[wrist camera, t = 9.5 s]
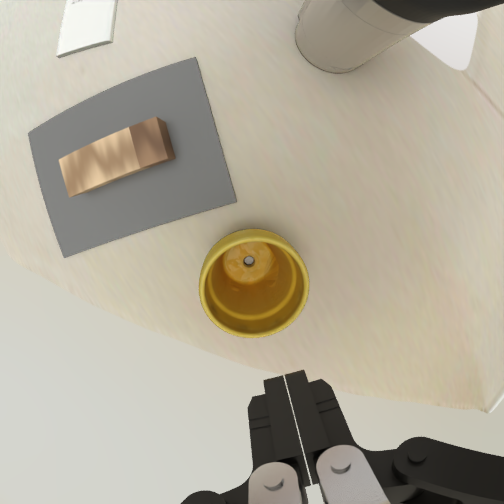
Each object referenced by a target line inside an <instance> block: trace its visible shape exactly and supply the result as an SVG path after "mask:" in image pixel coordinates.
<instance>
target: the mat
mask: <svg viewBox="0 0 504 504" xmlns="http://www.w3.org/2000/svg"><path fill="white" fill-rule="evenodd" d="M154 117H158V118H160V119H161V120H163V121H165V122H166V125H167V129H168V133H169V136H170V140H171V143H172V147H173V150H174V154H175V157H176V159H173V160H170V161H167V162H164V163H161V164H158V165H156V166H153V167H150V168H147V169H144V170H142V171H139V172H136V173H134V174H131V175H128V176H126V177H123V178H121V179H118V180H116V181H113V182H111V183H108V184H106V185H103V186H101V187H99V188H96V189H94V190H91V191H89V192H87V193H83V194H80V195H76V196H73V197H70V198H69V195H68V192H67V189H66V185H65V182H64V178H63V174H62V171H61V167H60V163H59V159H61V158H63V157H65V156H66V155H68V154H70V153H72V152H74V151H76V150H78V149H80V148H83V147H85V146H87V145H89V144H91V143H93V142H95V141H97V140H100V139H102V138H104V137H106V136H109V135H111V134H113V133H116V132H118V131H120V130H123V129H125V128H128V127H130V126H133V125H135V124H138V123H140V122H143V121H145V120H148V119H151V118H154ZM28 136H29V141H30V146H31V151H32V155H33V160H34V164H35V168H36V172H37V176H38V180H39V184H40V187H41V191H42V195H43V198H44V201H45V205H46V208H47V211H48V214H49V217H50V220H51V223H52V226H53V229H54V232H55V235H56V238H57V241H58V243H59V246H60V249H61V251H62V254H63V257H64V258H66V257H69V256H71V255H74V254H77V253H79V252H82V251H85V250H88V249H91V248H93V247H96V246H99V245H102V244H105V243H108V242H110V241H113V240H116V239H119V238H122V237H125V236H128V235H131V234H134V233H137V232H140V231H143V230H146V229H149V228H152V227H155V226H158V225H162V224H165V223H168V222H171V221H174V220H177V219H181V218H184V217H187V216H190V215H194V214H197V213H200V212H204V211H207V210H211V209H214V208H217V207H221V206H224V205H228V204H231V203H235V202H237V201H236V198H235V194H234V191H233V187H232V184H231V180H230V177H229V173H228V169H227V166H226V162H225V159H224V155H223V152H222V148H221V145H220V141H219V138H218V134H217V131H216V127H215V124H214V120H213V117H212V113H211V109H210V106H209V102H208V99H207V95H206V92H205V88H204V85H203V81H202V78H201V74H200V71H199V67H198V63H197V60H196V57H194V58H190V59H187V60H184V61H180V62H177V63H174V64H171V65H168V66H165V67H162V68H159V69H157V70H154V71H151V72H148V73H146V74H143V75H141V76H138V77H136V78H133V79H131V80H128V81H126V82H123V83H121V84H119V85H116V86H114V87H112V88H110V89H107V90H105V91H103V92H101V93H99V94H97V95H95V96H93V97H91V98H89V99H87V100H85V101H83V102H81V103H79V104H77V105H75V106H73V107H71V108H69V109H67V110H66V111H64V112H62V113H60V114H58V115H57V116H55V117H53V118H51V119H50V120H48V121H46V122H45V123H43V124H41V125H40V126H38V127H37V128H35V129H33V130H32V131H30V132H29V133H28Z"/></svg>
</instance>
